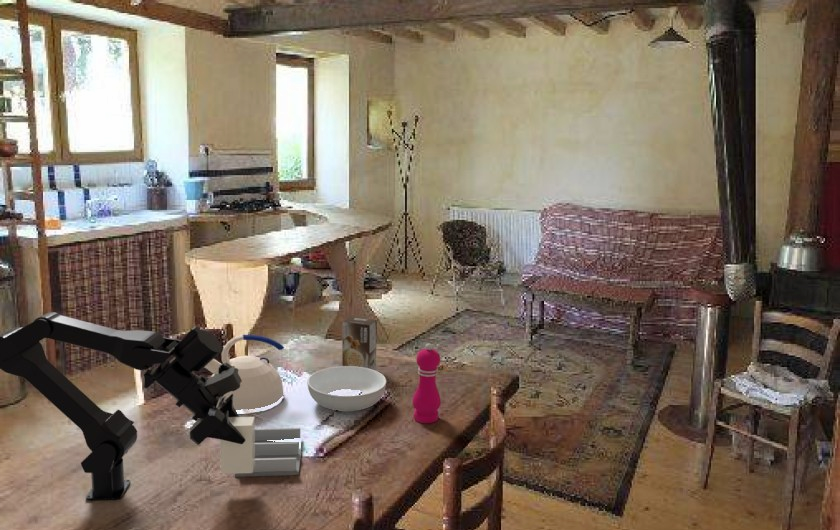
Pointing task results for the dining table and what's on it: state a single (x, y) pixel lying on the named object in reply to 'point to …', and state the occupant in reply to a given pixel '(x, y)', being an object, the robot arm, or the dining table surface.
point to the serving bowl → (346, 387)
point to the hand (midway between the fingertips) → (244, 437)
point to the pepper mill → (427, 386)
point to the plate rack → (275, 453)
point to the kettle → (252, 376)
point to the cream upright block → (239, 448)
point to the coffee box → (359, 342)
